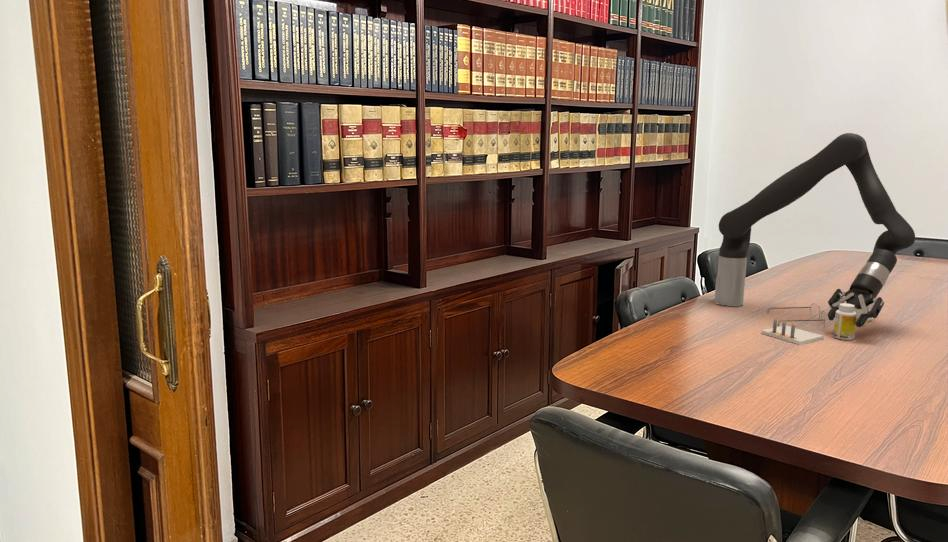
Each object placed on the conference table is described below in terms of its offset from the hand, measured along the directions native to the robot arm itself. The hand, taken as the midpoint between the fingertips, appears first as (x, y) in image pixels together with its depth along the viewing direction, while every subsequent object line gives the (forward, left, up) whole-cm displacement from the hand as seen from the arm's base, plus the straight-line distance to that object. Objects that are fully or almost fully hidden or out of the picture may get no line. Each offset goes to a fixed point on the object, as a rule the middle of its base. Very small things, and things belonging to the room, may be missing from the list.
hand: (843, 322), depth 204 cm
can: (+4, +27, -5) cm, 28 cm away
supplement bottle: (0, +1, -5) cm, 5 cm away
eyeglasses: (-14, +15, -6) cm, 21 cm away
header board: (-13, -4, -5) cm, 14 cm away
